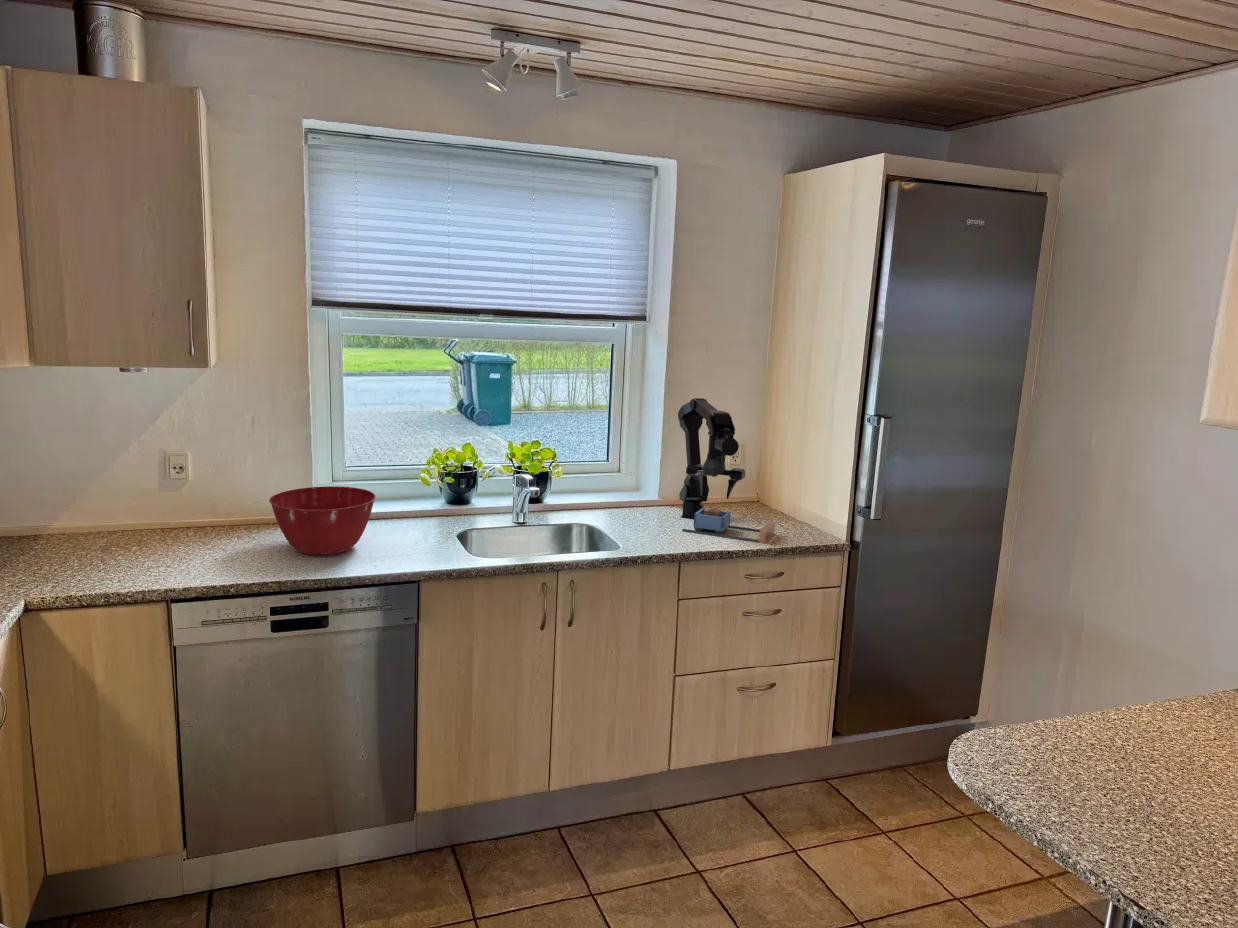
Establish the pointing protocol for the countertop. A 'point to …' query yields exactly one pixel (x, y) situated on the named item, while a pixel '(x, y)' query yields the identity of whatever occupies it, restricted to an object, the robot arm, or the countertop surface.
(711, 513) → the block
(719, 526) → the box
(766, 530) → the track
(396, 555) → the countertop surface
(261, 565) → the countertop surface
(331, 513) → the mixing bowl
